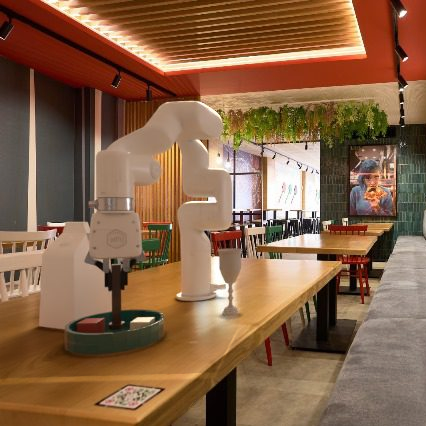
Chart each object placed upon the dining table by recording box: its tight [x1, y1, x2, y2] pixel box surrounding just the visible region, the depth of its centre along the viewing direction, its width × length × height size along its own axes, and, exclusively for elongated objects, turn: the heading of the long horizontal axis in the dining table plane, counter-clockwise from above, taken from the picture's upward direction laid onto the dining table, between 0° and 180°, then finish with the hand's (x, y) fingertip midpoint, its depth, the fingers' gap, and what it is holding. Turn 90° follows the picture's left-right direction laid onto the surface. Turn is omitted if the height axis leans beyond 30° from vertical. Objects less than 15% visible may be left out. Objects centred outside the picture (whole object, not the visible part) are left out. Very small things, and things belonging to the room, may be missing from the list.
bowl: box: [63, 308, 166, 355], centre depth 88 cm, size 20×20×4 cm
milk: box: [38, 221, 112, 330], centre depth 101 cm, size 12×12×26 cm
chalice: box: [217, 248, 244, 317], centre depth 108 cm, size 7×7×18 cm
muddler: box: [108, 263, 125, 330], centre depth 88 cm, size 3×3×14 cm
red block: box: [77, 318, 105, 333], centre depth 88 cm, size 4×4×4 cm
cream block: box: [130, 317, 155, 330], centre depth 88 cm, size 4×4×4 cm
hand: (116, 289), depth 88 cm, fingers closed on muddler
